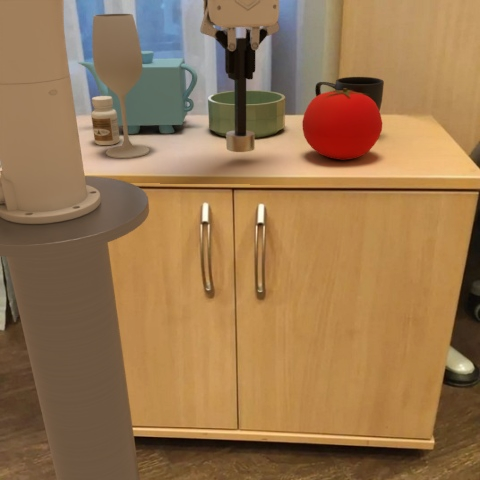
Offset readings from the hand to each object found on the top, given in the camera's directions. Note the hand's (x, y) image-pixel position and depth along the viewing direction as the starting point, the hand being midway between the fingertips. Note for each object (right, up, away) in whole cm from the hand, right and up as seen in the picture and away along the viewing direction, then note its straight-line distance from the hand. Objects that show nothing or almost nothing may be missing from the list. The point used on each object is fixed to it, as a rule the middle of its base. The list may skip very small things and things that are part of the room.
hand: (240, 77), depth 90 cm
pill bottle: (-24, -5, +18) cm, 30 cm away
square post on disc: (0, -9, +5) cm, 11 cm away
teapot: (-19, 0, +28) cm, 33 cm away
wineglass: (-19, -8, +12) cm, 24 cm away
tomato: (+16, -10, +8) cm, 20 cm away
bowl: (+1, -1, +24) cm, 24 cm away
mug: (+19, -3, +20) cm, 28 cm away
